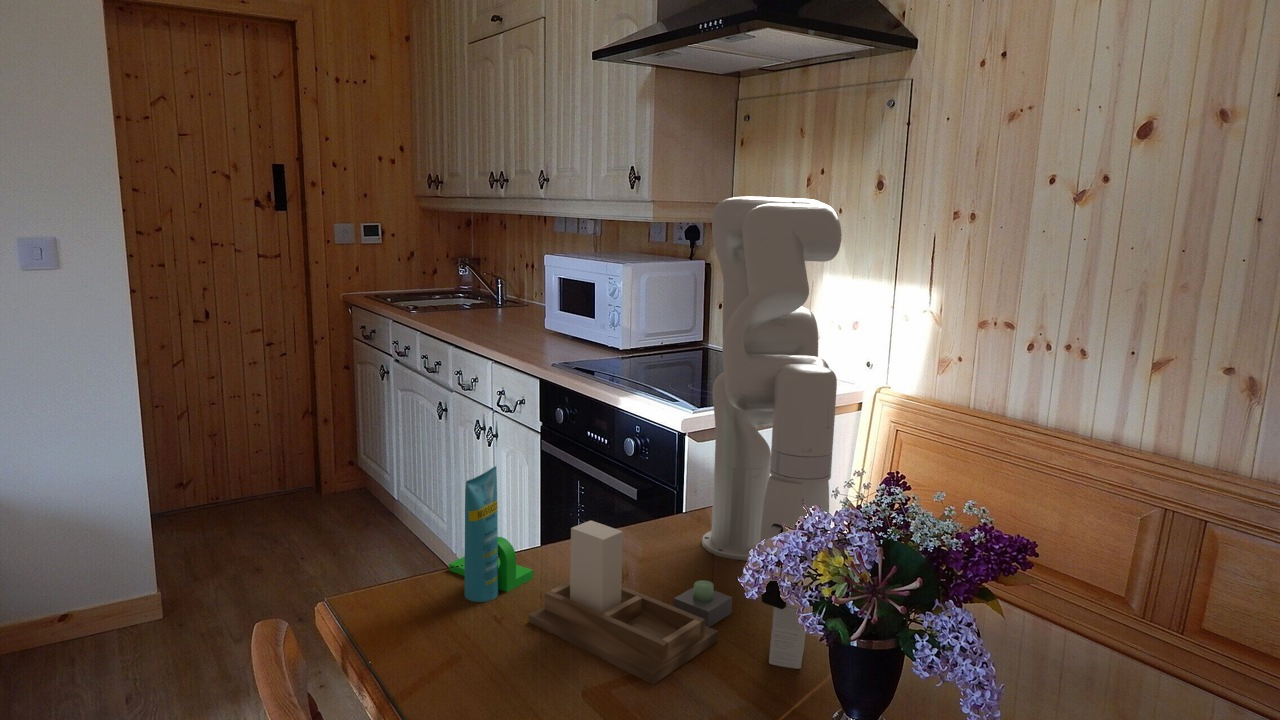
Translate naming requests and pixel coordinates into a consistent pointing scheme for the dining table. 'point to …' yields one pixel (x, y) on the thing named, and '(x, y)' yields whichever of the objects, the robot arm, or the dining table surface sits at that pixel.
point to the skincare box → (786, 638)
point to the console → (705, 606)
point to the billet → (596, 566)
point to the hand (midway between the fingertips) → (793, 593)
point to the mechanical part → (502, 567)
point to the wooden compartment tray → (628, 631)
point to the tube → (481, 537)
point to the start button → (703, 591)
